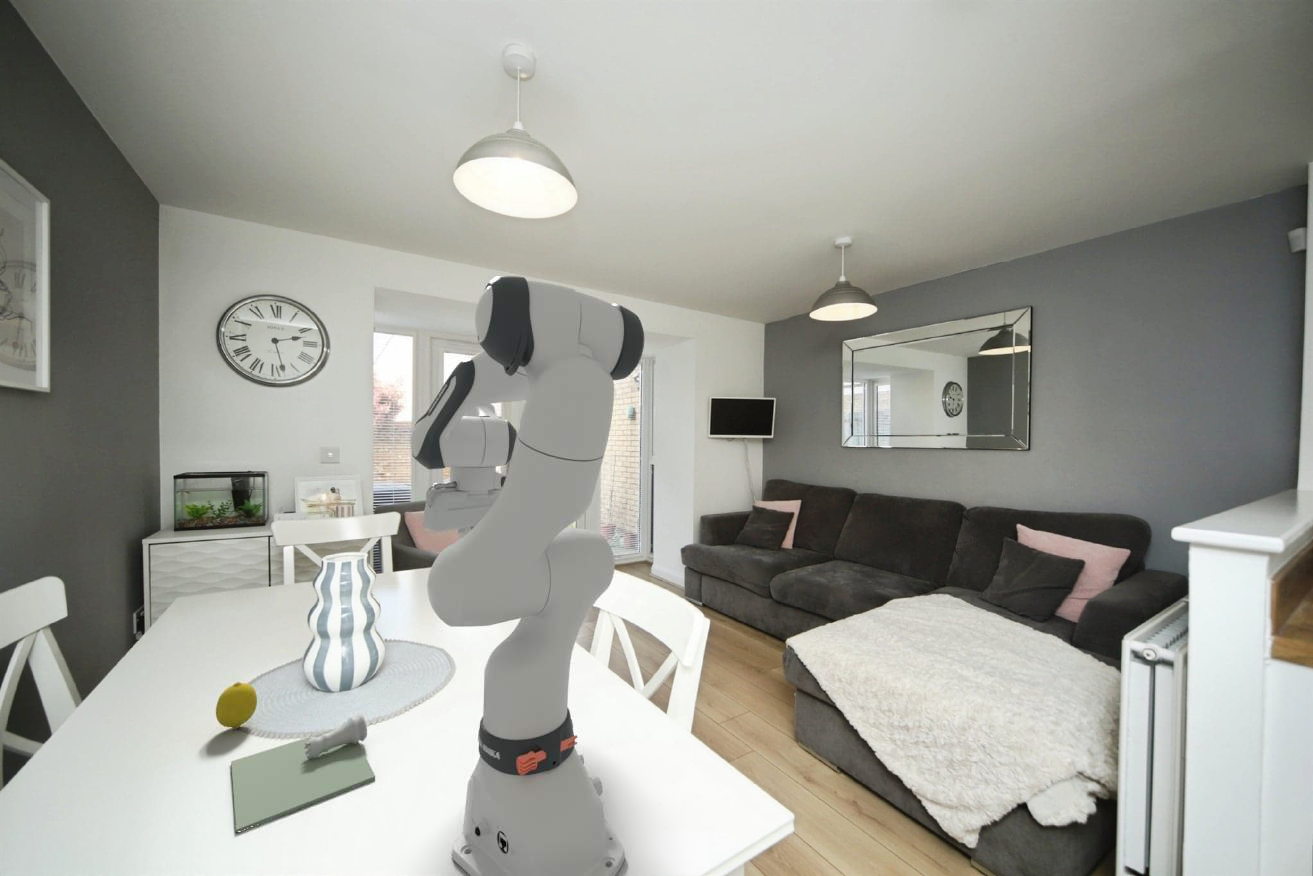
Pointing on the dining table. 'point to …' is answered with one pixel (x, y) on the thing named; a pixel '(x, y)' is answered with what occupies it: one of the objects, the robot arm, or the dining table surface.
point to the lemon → (236, 705)
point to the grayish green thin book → (293, 779)
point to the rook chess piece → (338, 736)
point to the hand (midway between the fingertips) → (471, 547)
